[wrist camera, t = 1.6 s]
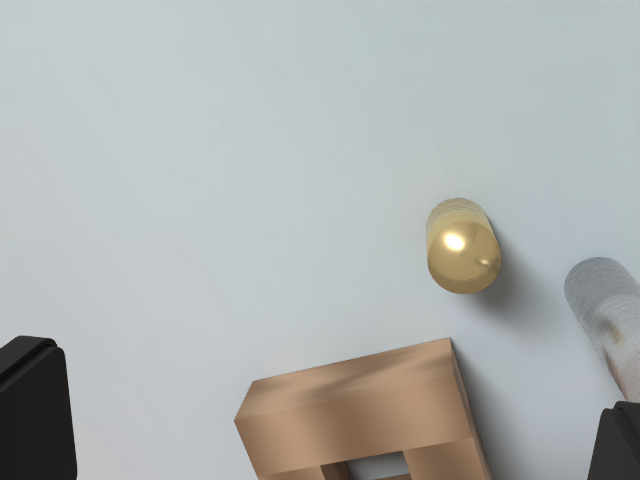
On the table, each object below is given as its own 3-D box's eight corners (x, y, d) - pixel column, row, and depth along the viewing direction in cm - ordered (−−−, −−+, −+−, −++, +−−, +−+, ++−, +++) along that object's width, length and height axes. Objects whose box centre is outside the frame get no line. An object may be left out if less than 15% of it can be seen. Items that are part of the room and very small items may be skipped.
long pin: (623, 250, 30) (746, 373, 19) (635, 306, 31) (760, 456, 20) (558, 266, 31) (639, 393, 20) (571, 320, 32) (656, 473, 20)
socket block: (449, 337, 33) (453, 374, 29) (501, 511, 36) (511, 565, 32) (252, 381, 36) (233, 420, 32) (316, 538, 39) (305, 591, 35)
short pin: (480, 190, 30) (491, 217, 26) (495, 248, 31) (509, 284, 26) (419, 208, 31) (419, 237, 26) (435, 263, 32) (438, 301, 27)
